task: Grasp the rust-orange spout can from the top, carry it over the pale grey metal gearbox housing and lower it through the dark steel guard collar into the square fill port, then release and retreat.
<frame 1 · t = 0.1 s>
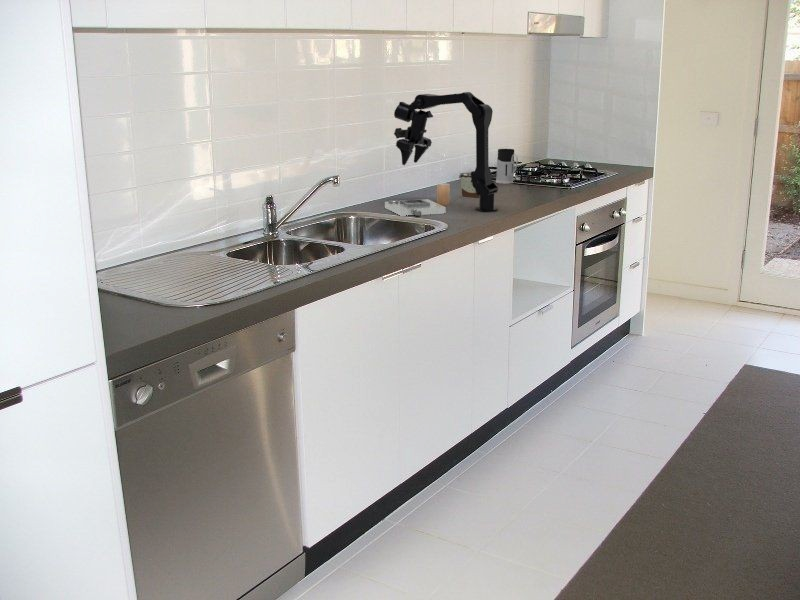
hand: (409, 163, 353), 15 cm above the table, tool pointing down, fingers open, 9 cm apart
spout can: (443, 204, 353), on the table
food container: (474, 197, 369), on the table
gearbox housing: (414, 210, 339), on the table
grey jug: (507, 183, 408), on the table
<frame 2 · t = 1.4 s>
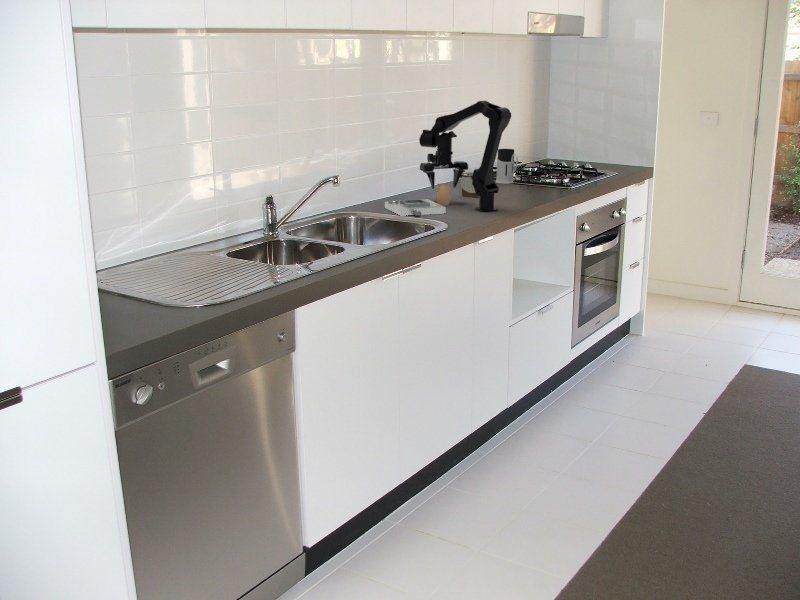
hand: (443, 188, 351), 6 cm above the table, tool pointing down, fingers open, 9 cm apart
nothing on the table moved.
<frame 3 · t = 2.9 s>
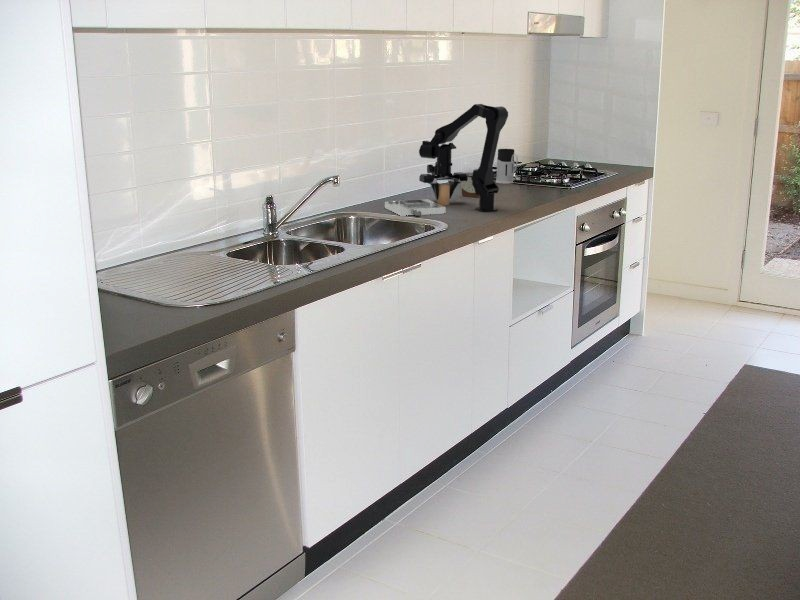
hand: (443, 199, 353), 2 cm above the table, tool pointing down, fingers closed on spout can, 5 cm apart
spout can: (443, 204, 353), on the table, touching gripper
everything else where it was.
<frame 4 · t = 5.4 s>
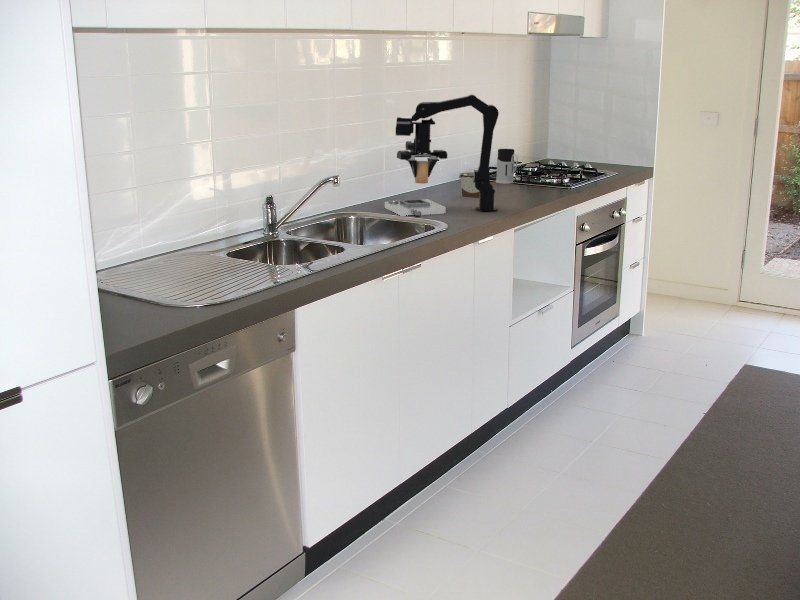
hand: (421, 177, 339), 12 cm above the table, tool pointing down, fingers closed on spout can, 5 cm apart
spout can: (421, 182, 340), point 10 cm above the table, touching gripper
everything else where it was.
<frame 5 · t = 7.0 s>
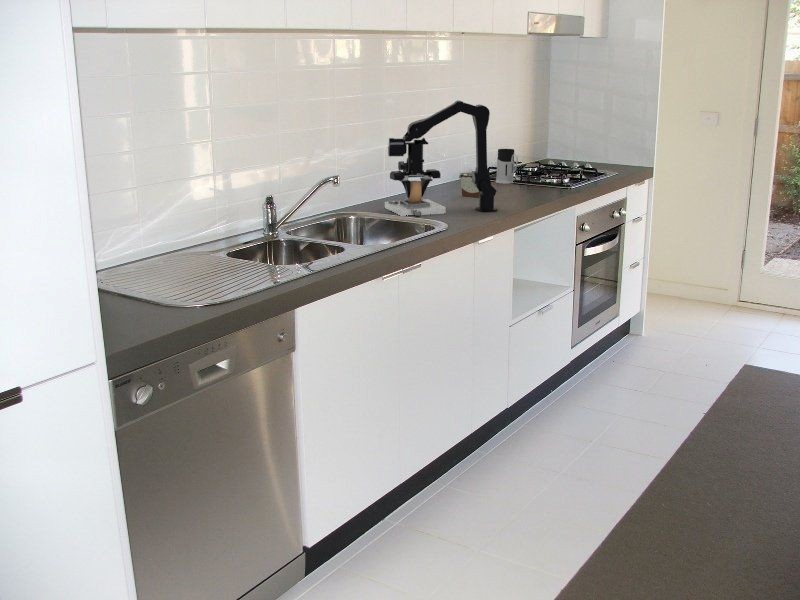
hand: (415, 197, 337), 5 cm above the table, tool pointing down, fingers closed on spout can, 5 cm apart
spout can: (414, 202, 338), point 3 cm above the table, touching gripper
everything else where it was.
when the fingers open (4 cm above the table, at t = 8.0 s): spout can drops 2 cm, resting in gearbox housing.
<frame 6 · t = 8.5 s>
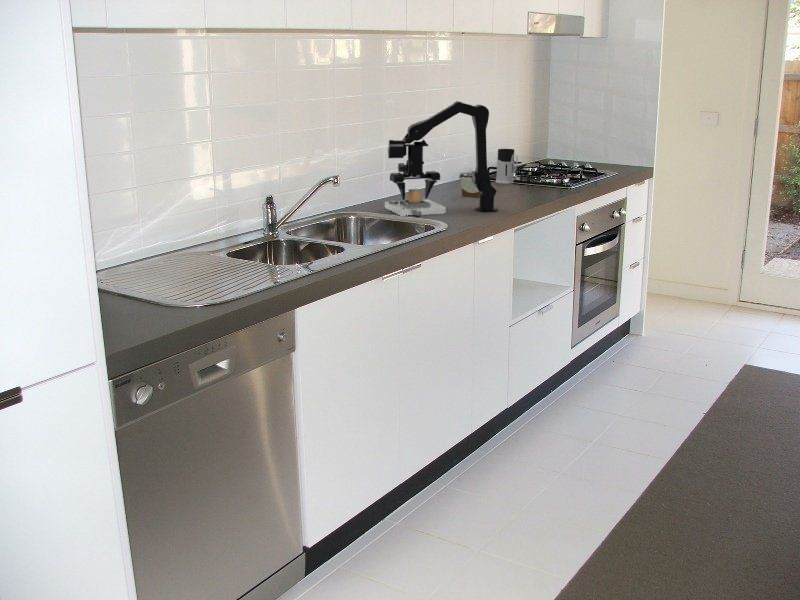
hand: (414, 199, 338), 4 cm above the table, tool pointing down, fingers open, 9 cm apart
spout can: (414, 210, 339), resting in gearbox housing
everything else where it was.
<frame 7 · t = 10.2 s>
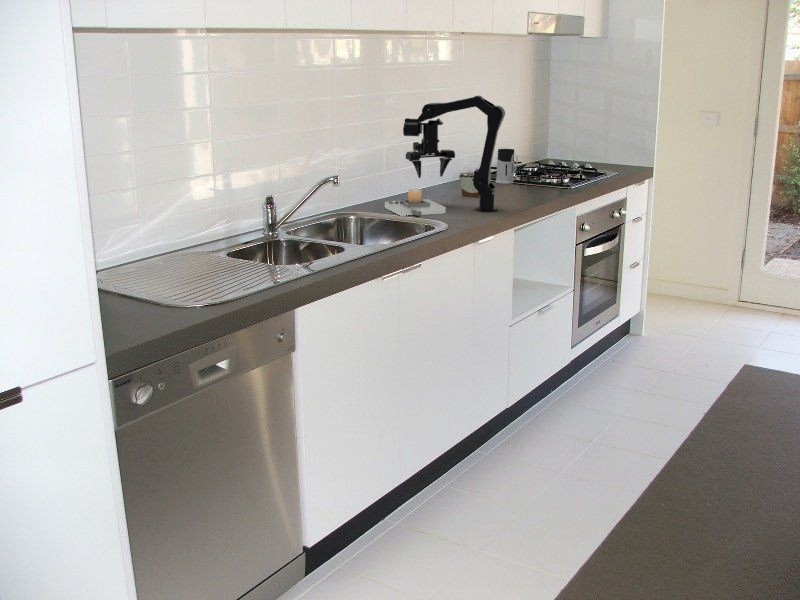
hand: (430, 177, 343), 12 cm above the table, tool pointing down, fingers open, 9 cm apart
nothing on the table moved.
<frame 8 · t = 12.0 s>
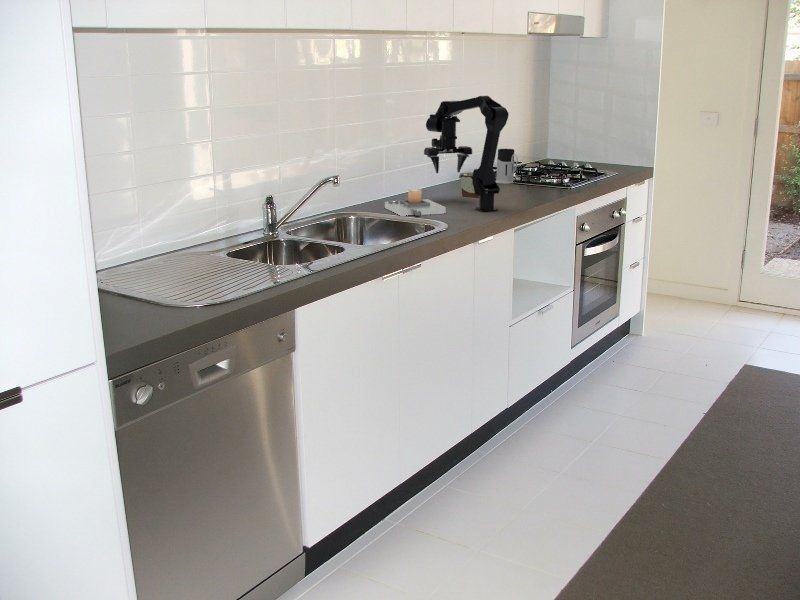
hand: (447, 172, 353), 12 cm above the table, tool pointing down, fingers open, 9 cm apart
nothing on the table moved.
at the end: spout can 0.1 cm from the target spot, resting in gearbox housing; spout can tilted 0°; the gripper is holding nothing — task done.
